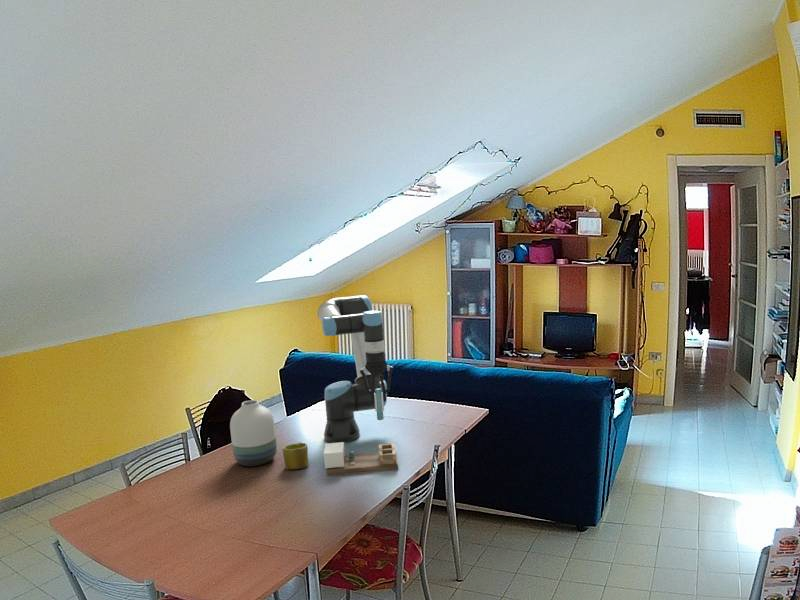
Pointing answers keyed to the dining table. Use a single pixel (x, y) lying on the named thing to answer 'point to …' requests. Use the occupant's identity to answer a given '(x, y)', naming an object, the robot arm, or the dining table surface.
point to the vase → (253, 434)
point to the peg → (379, 404)
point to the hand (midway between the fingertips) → (379, 409)
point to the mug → (295, 456)
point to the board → (368, 462)
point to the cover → (334, 455)
